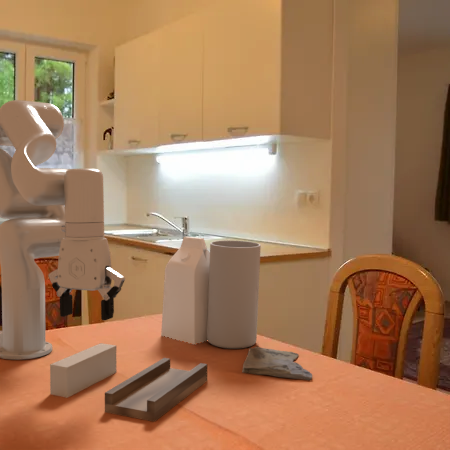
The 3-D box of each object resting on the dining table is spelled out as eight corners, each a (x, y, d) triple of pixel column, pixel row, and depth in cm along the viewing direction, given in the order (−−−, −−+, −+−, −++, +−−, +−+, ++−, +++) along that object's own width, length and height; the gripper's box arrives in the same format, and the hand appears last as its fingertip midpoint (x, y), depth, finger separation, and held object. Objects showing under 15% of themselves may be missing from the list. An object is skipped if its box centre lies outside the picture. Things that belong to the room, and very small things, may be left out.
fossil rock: (247, 354, 140) (248, 344, 140) (310, 357, 138) (311, 348, 138) (240, 378, 123) (240, 367, 122) (312, 383, 121) (312, 372, 120)
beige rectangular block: (50, 395, 111) (50, 364, 111) (100, 370, 126) (100, 343, 125) (67, 398, 110) (67, 367, 109) (116, 373, 124) (116, 345, 124)
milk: (224, 335, 154) (225, 237, 152) (194, 344, 146) (195, 241, 144) (191, 327, 162) (192, 234, 160) (161, 335, 153) (161, 237, 151)
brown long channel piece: (104, 411, 103) (104, 392, 103) (163, 374, 123) (164, 357, 123) (154, 421, 99) (154, 401, 99) (207, 380, 120) (207, 364, 119)
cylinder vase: (197, 338, 150) (201, 241, 147) (238, 332, 156) (242, 239, 153) (223, 352, 139) (227, 248, 136) (266, 345, 146) (270, 246, 143)
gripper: (36, 231, 115) (39, 317, 116) (111, 233, 109) (113, 324, 110) (61, 229, 122) (63, 310, 123) (132, 231, 115) (134, 316, 116)
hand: (86, 317), depth 116 cm, fingers open, 9 cm apart
